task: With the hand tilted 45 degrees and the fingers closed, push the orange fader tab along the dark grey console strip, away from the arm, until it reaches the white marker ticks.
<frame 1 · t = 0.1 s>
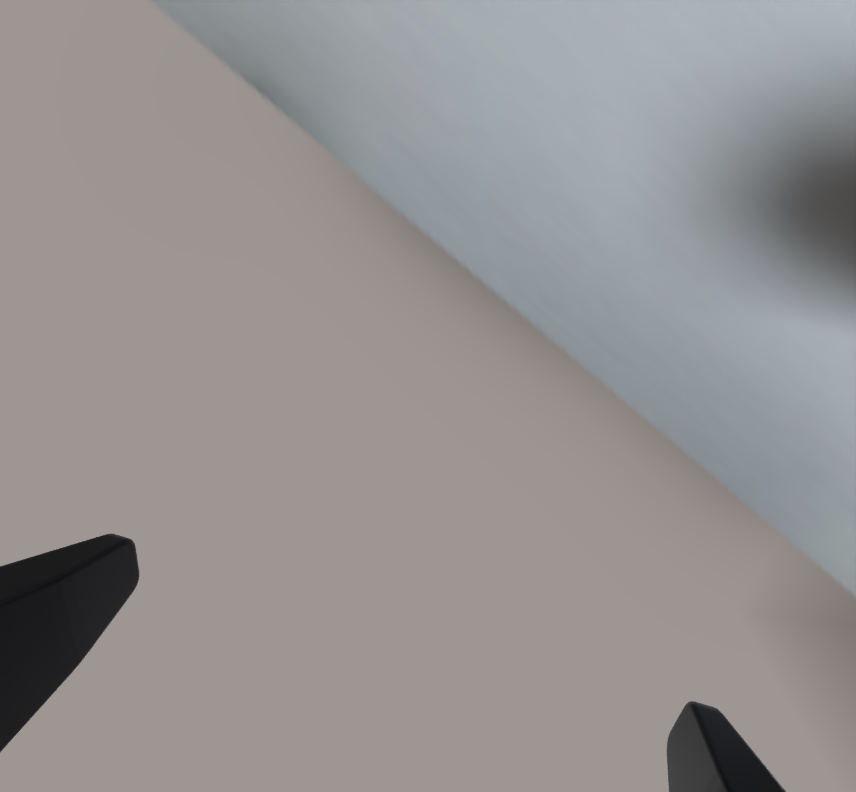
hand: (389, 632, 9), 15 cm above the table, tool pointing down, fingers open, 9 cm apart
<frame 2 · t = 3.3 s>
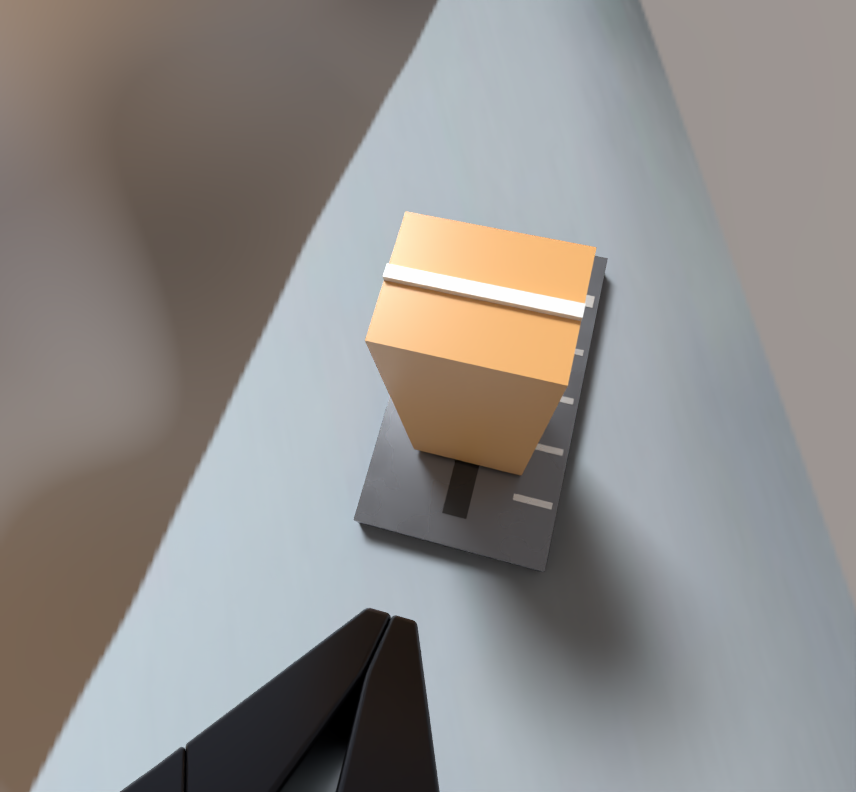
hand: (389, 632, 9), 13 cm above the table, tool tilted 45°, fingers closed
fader: (478, 376, 17), point 7 cm above the table, slide at 0.0 cm
console: (486, 390, 23), on the table
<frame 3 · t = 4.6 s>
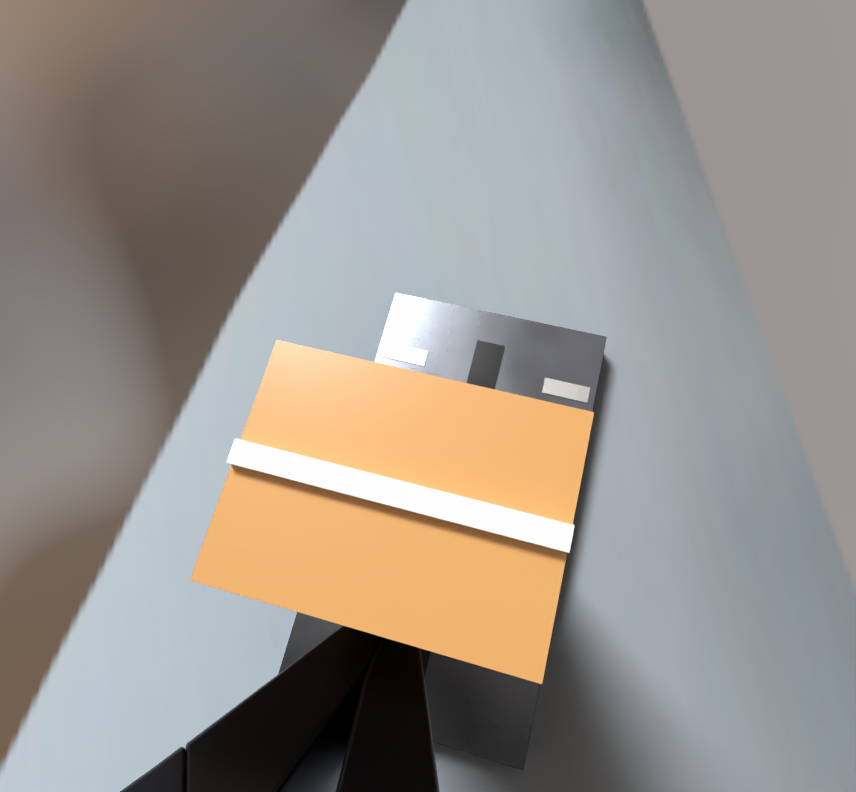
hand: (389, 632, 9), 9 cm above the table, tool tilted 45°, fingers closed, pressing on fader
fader: (427, 529, 12), point 7 cm above the table, slide at 0.5 cm, touching gripper
console: (452, 505, 18), on the table
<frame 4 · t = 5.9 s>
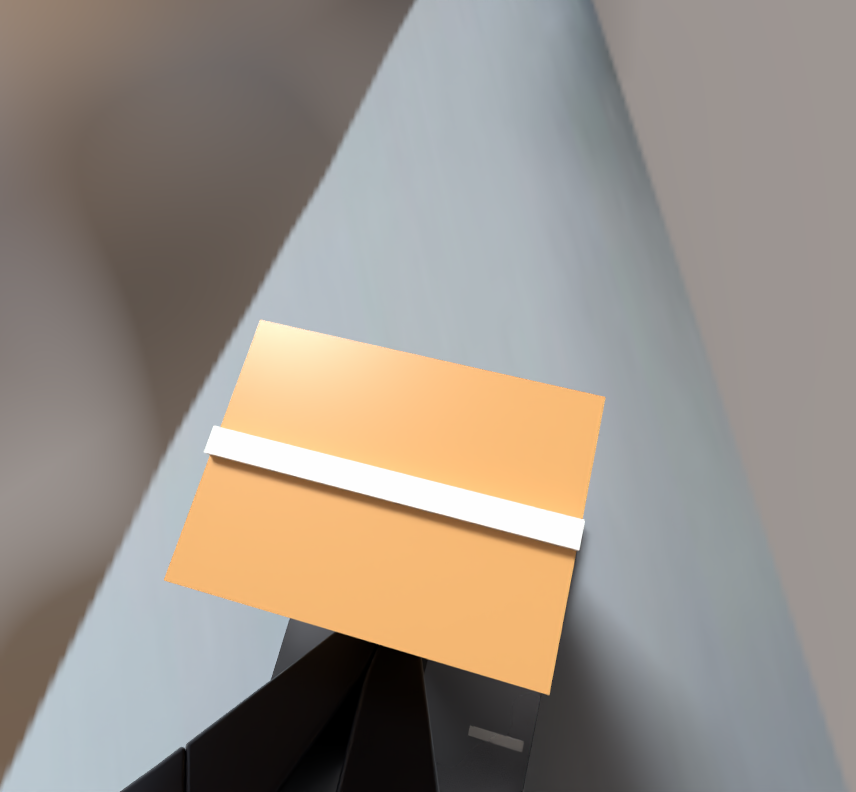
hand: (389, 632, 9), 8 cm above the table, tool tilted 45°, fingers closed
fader: (425, 526, 11), point 7 cm above the table, slide at 6.1 cm
console: (402, 700, 16), on the table
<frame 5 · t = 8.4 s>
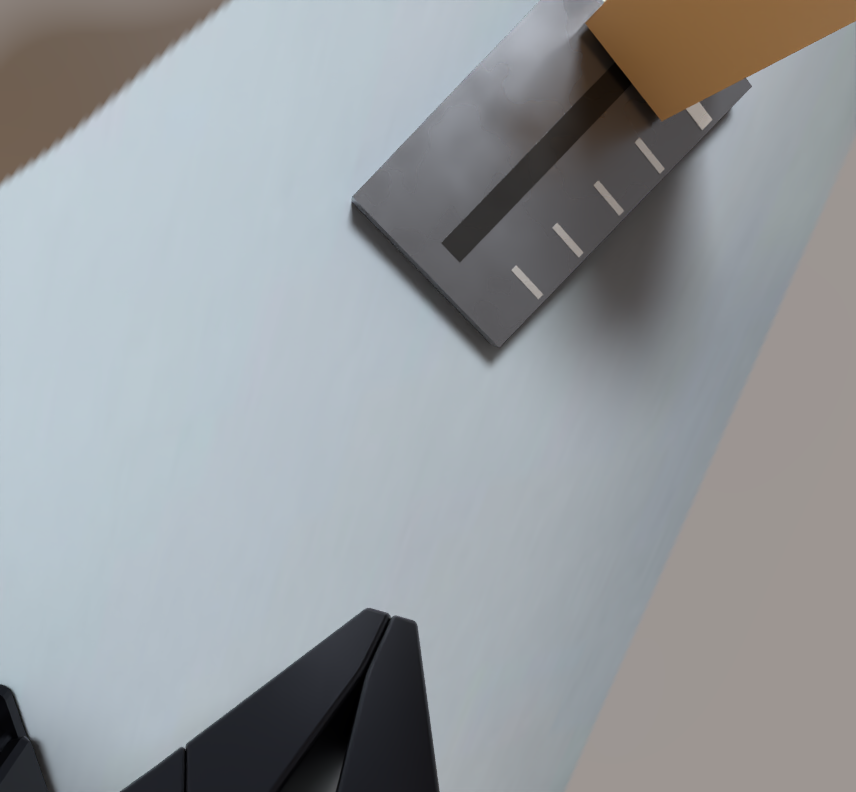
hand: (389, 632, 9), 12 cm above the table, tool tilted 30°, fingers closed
console: (548, 146, 21), on the table
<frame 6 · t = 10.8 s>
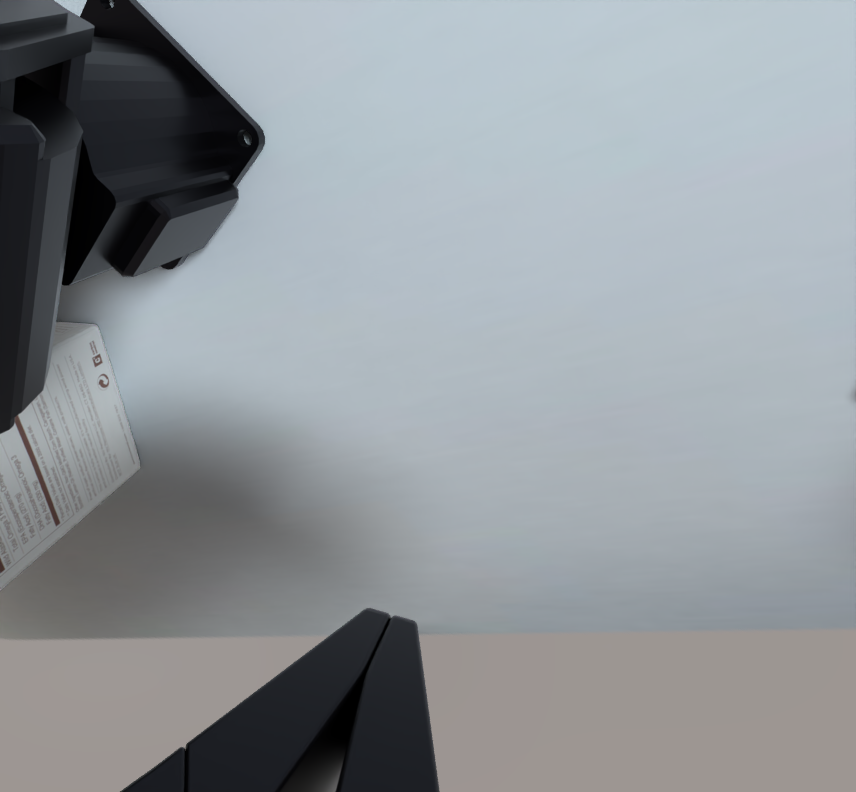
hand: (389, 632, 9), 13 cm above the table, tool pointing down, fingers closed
supplement box: (61, 392, 27), on the table
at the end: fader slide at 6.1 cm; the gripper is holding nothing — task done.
